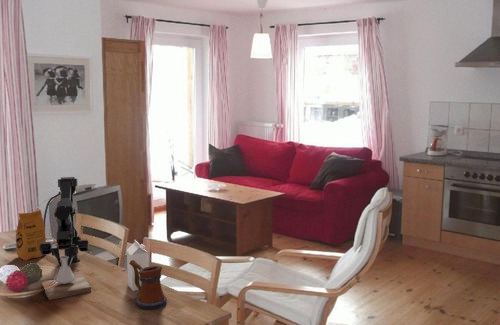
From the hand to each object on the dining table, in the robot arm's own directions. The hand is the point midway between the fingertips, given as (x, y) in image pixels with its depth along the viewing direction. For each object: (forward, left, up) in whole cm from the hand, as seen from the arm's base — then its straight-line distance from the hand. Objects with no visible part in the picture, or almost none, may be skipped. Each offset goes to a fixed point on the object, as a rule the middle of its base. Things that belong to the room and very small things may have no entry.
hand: (64, 266), depth 210 cm
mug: (+27, +24, -10) cm, 38 cm away
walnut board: (-1, 0, -10) cm, 10 cm away
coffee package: (-50, -6, -10) cm, 51 cm away
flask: (-1, 0, -7) cm, 7 cm away
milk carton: (+12, +26, -10) cm, 31 cm away
